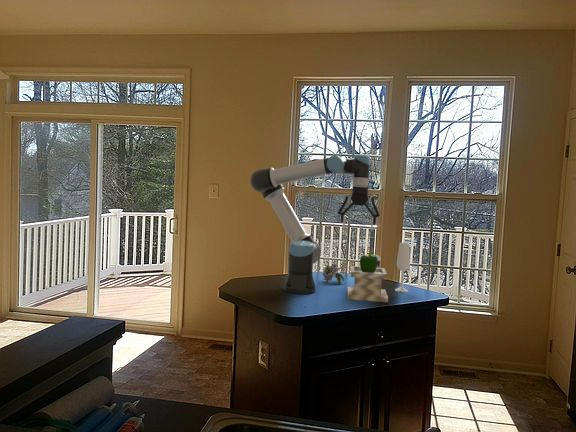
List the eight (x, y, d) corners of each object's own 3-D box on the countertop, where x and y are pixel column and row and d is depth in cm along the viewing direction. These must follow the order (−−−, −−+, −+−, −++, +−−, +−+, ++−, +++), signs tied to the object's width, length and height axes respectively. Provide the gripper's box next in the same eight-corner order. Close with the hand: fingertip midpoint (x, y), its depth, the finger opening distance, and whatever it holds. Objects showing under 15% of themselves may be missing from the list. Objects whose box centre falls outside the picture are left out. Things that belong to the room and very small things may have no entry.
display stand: (347, 299, 208) (348, 271, 208) (347, 290, 226) (349, 265, 225) (387, 302, 206) (389, 274, 205) (384, 293, 224) (386, 268, 223)
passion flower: (326, 292, 244) (316, 272, 248) (341, 286, 251) (331, 267, 254) (337, 284, 236) (326, 263, 240) (352, 278, 242) (341, 258, 246)
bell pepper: (362, 274, 211) (364, 253, 210) (356, 271, 219) (358, 250, 218) (380, 274, 212) (381, 253, 212) (373, 271, 220) (374, 250, 220)
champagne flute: (393, 288, 236) (395, 242, 234) (405, 289, 236) (408, 242, 235) (397, 291, 229) (400, 243, 227) (410, 292, 229) (413, 244, 228)
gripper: (334, 185, 223) (331, 228, 224) (386, 187, 218) (383, 232, 219) (335, 185, 230) (332, 227, 231) (386, 188, 225) (383, 231, 227)
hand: (357, 229), depth 225 cm, fingers open, 13 cm apart
